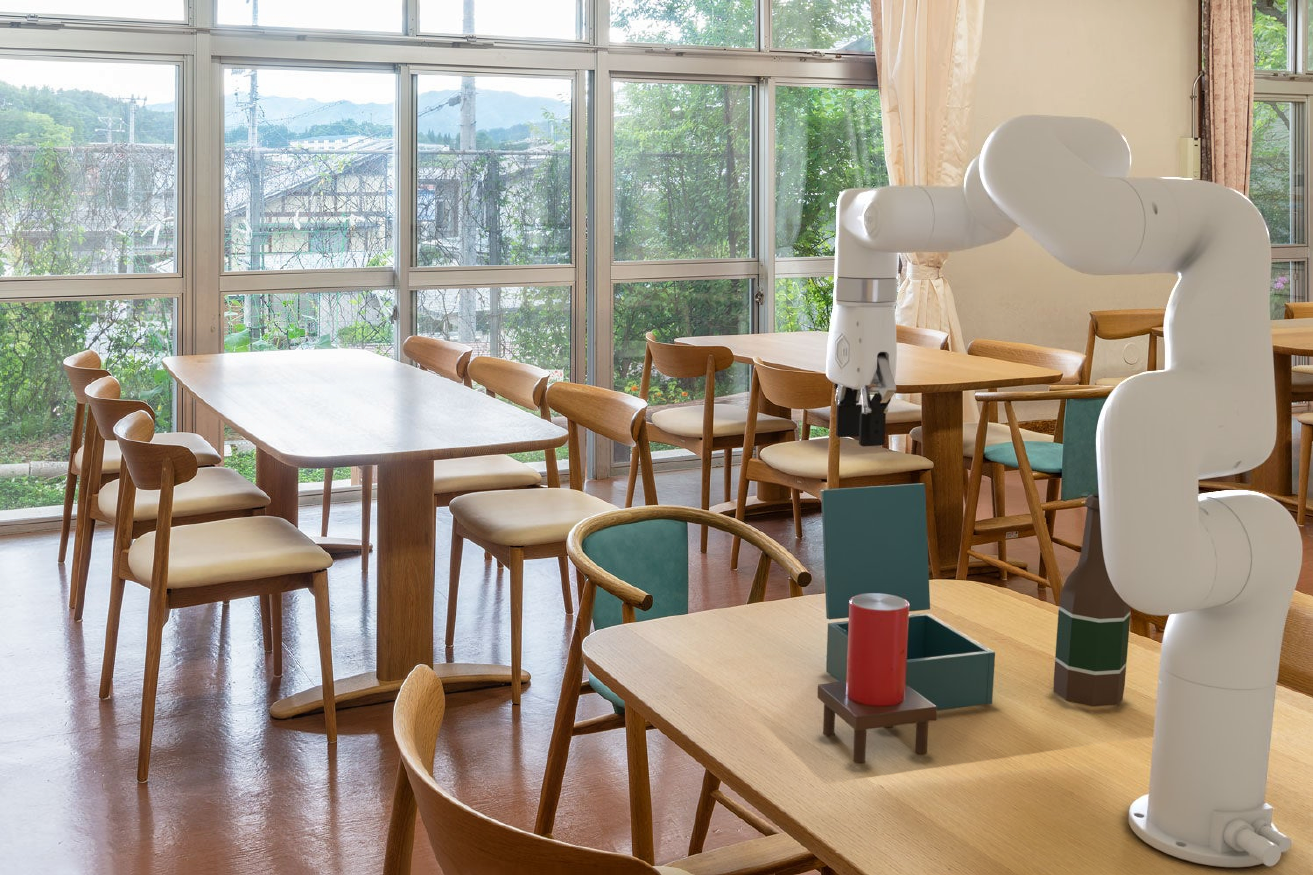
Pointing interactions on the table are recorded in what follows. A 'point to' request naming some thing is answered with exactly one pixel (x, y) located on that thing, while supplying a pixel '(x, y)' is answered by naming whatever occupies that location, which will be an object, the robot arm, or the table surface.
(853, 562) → the lid
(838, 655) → the teal open box
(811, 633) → the table surface
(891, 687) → the soda can
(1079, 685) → the beer bottle
